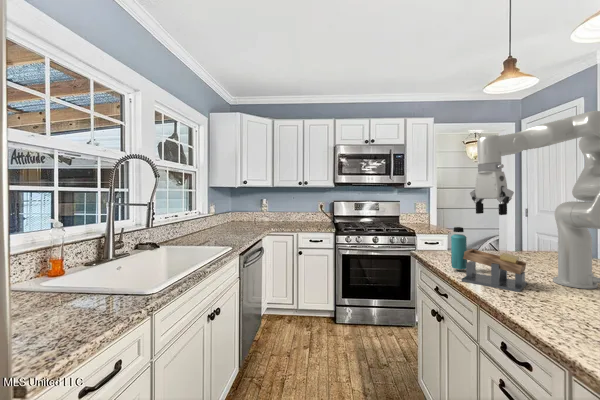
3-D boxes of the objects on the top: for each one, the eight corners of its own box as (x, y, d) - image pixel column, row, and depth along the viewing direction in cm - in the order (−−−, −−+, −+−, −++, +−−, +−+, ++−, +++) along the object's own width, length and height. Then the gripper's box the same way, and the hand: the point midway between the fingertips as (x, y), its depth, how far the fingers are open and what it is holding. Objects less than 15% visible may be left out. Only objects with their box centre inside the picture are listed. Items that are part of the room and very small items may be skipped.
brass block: (517, 264, 112) (519, 256, 111) (514, 266, 108) (516, 258, 108) (502, 260, 115) (503, 252, 115) (499, 262, 112) (500, 254, 112)
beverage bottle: (469, 273, 130) (469, 228, 130) (453, 272, 132) (453, 227, 131) (464, 269, 137) (464, 226, 136) (449, 268, 138) (448, 226, 138)
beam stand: (526, 284, 113) (526, 261, 113) (519, 292, 104) (519, 267, 104) (472, 275, 127) (472, 254, 127) (461, 281, 118) (461, 259, 118)
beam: (524, 270, 112) (526, 262, 111) (520, 274, 106) (521, 266, 106) (470, 255, 125) (471, 248, 125) (463, 258, 120) (464, 251, 119)
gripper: (519, 166, 104) (521, 214, 104) (477, 170, 120) (478, 212, 120) (503, 166, 101) (504, 216, 102) (462, 171, 118) (464, 213, 118)
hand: (490, 214), depth 111 cm, fingers open, 9 cm apart
